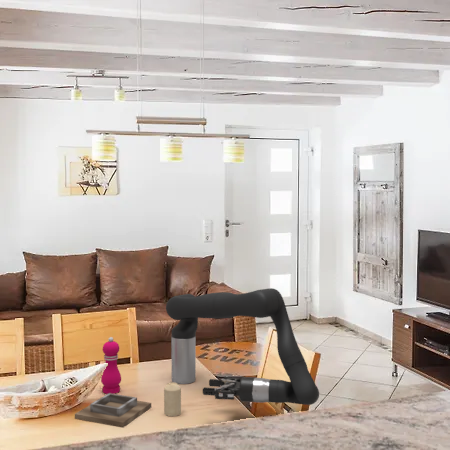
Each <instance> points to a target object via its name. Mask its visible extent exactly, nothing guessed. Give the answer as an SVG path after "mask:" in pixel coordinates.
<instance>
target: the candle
mask: <svg viewBox="0 0 450 450" xmlns="http://www.w3.org/2000/svg"><path fill="white" fill-rule="evenodd" d="M163 389H164V390H163V396H164V397H163V402H164V403H163V410H164V415H165V416H167V417H177V416H180V415H181V413H182V387H181V386H180V385H179V384H178V383H176V382H169V383H167V384H166V385H165V386H164V387H163Z"/></svg>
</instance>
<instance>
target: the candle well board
mask: <svg viewBox="0 0 450 450" xmlns="http://www.w3.org/2000/svg"><path fill="white" fill-rule="evenodd" d="M151 408H152V402H148V401H141V400H138V397H135V396H129V395H125V394H124V395H123V394H118V393H115V394H111V393H108V394H105V395H103V396H102V397H100V398H98V399H96V400H95V401H93V402H92V403H90V404H89V405H88V406H86V407H84V408H82V409H81V410H79V411H77V412H76V413H74V419H75V420H82V421H86V422H91V421H92V422H93V423H97V424H103V425H110V426H115V427H120V428H125V427H126V426H127V425H129V424H130V423H131V422H133V421H134V420H135V419H137V418H138V417H139V416H141V415H142V414H144V413H145V412H147V411H148V410H150V409H151Z"/></svg>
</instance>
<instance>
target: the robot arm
mask: <svg viewBox="0 0 450 450" xmlns="http://www.w3.org/2000/svg"><path fill="white" fill-rule="evenodd" d="M165 311H166V314H167V315H168V316H169V317H170V318H171V319H173V320H175V321H178V323H177V324H176V325H175V326H174V327H173V328H171V381H172V382H176V383H177V384H178V385H179V384H181V385H186V384H191V383H194V382H196V378H197V377H196V372H197V371H196V368H197V367H196V363H197V362H196V361H197V360H196V351H197V349H196V342H197V341H196V336H197V335H196V332H197V330H198V324H199V322H198V321H199V319H214V320H216V319H230V318H231V319H232V318H235V317H250V318H258V319H263V318H264V319H265V318H268V317H270V319H271V321H272V323H273V324H274V326H275V327H274V328H275V331H276V341H277V354H278V356H279V360H280V361H281V365H282V366H283V369H284V371H285V373H286V374H287V376H288V377H289V380H290V381H287V380H283V379H270V378H263V377H248V376H242V377H241V378H238V377H230V376H229V377H223V378H221V379H217V378H216V379H214V378H210V379H209V381H208V385H209V387H203V388H202V395H204V396H214V399H215V400H232V401H233V400H234V399H235V397H236V396H237V397H238V396H239V400H240V401H241V402H245V403H246V402H248V403H274V404H275V403H277V404H283V403H284V404H285V403H286V404H287V403H288V404H295V405H304V406H305V405H306V406H311V405H313V404H316V402H317V401H318V400H319V398H320V390H319V387H318V386H317V384H316V383H315V381H314V378H313V377H312V374H311V373H310V370H309V368H308V366H307V365H308V364H307V362H306V360H305V358H304V356H303V354H302V353H303V352H302V351H301V349H300V347H299V345H298V341H297V339H296V338H295V335H294V331H293V327H292V323H291V320H290V318H289V317H290V316H289V314H288V309H287V306H286V304H285V301H284V298H283V295H282V294H281V292H280V291H279V290H277V289H276V288H271V287H270V288H263V289H256V290H253V291H249V292H245V293H239V294H238V293H237V294H236V293H233V292H225V291H224V292H223V291H222V292H211V293H205V294H201V295H196V296H195V295H193V294H191V293H185V294H179V295H174V296H172V297H171V298H169V299H168V300H167V302H166V305H165Z"/></svg>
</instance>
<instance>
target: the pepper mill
mask: <svg viewBox="0 0 450 450" xmlns="http://www.w3.org/2000/svg"><path fill="white" fill-rule="evenodd" d="M107 340H108V341H106V342H105V343H104V344H103V346H102V353H103V354H104V355H103V359H104V360H105V363H108V366H107V367H106V369H105V368H104V369H105V370H104V369H103V371H102V374H103V375H102V374H101V377H100V378H101V379H100V382H101V384H102V393H104V394H105V395H107V394H108V393H111V394H119V393H120V392H121V385H120V384H121V382H122V374H121V372H120V369H119V368H118V367H119V366H118V358H119V354H118V353H119V352H120V345H119V343H118V342H117V341H114V337H112V336H110V337H108V339H107Z"/></svg>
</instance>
